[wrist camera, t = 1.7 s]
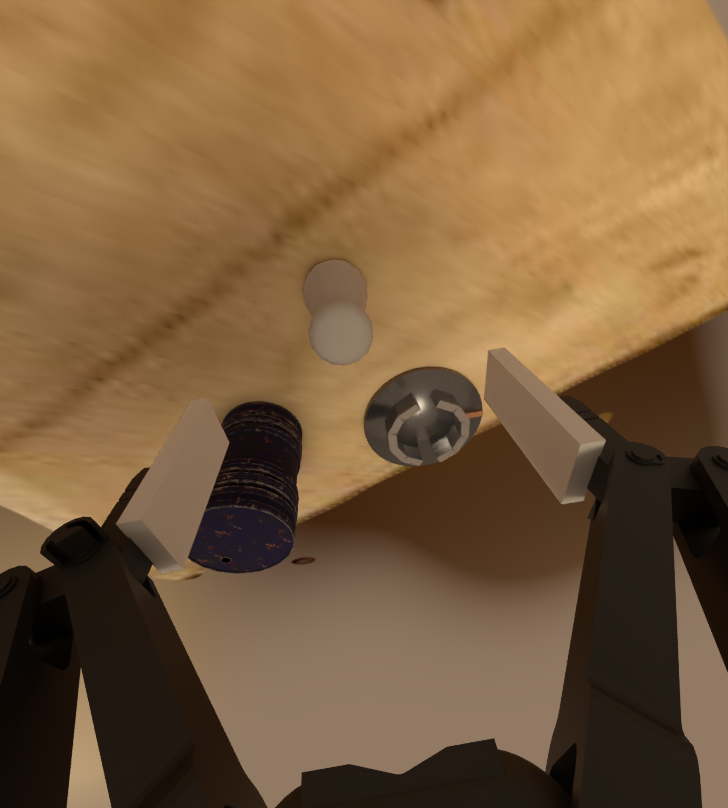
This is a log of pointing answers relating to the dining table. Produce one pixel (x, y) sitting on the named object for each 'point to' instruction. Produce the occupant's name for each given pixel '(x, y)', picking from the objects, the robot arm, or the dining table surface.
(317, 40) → the dining table surface
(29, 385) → the dining table surface
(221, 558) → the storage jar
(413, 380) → the socket
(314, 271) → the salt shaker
